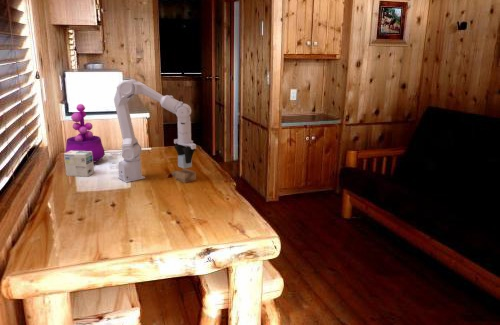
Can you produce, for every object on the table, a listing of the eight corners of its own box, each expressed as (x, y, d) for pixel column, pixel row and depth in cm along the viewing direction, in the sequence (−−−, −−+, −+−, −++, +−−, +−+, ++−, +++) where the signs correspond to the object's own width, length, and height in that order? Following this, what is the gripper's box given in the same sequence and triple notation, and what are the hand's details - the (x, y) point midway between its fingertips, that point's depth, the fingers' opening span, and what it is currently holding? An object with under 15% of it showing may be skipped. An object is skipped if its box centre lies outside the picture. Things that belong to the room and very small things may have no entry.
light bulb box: (94, 172, 190) (92, 150, 187) (87, 177, 184) (85, 154, 181) (73, 171, 191) (70, 149, 188) (65, 176, 185) (63, 153, 182)
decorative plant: (91, 168, 197) (86, 107, 189) (58, 165, 200) (51, 105, 192) (112, 158, 215) (107, 102, 207) (80, 156, 218) (75, 101, 210)
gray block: (183, 168, 178) (183, 157, 176) (177, 166, 181) (177, 155, 179) (192, 166, 180) (191, 156, 179) (186, 164, 184) (186, 154, 182)
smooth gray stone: (176, 177, 186) (176, 175, 186) (169, 174, 190) (169, 172, 190) (187, 175, 190) (187, 172, 190) (180, 172, 194) (180, 170, 194)
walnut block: (184, 183, 178) (184, 174, 177) (175, 180, 182) (175, 171, 181) (196, 180, 183) (195, 171, 182) (186, 177, 187) (186, 168, 186)
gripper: (201, 133, 174) (202, 163, 178) (182, 128, 184) (183, 157, 188) (188, 135, 169) (188, 166, 173) (169, 130, 180) (170, 159, 183)
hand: (185, 161), depth 180 cm, fingers closed on gray block, 4 cm apart
